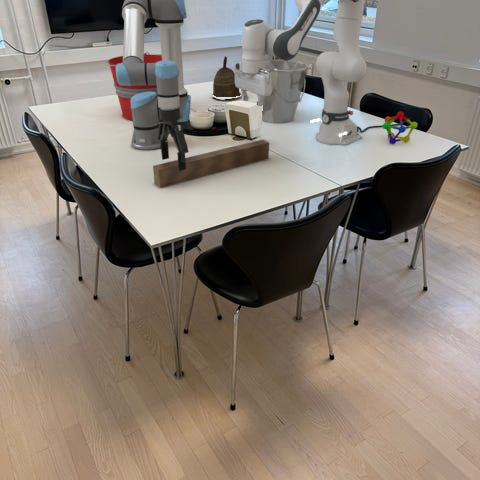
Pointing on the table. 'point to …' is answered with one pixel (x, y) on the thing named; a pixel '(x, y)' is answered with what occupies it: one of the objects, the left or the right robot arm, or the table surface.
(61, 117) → the table surface
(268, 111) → the bucket
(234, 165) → the beam
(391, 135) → the educational toy
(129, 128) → the table surface
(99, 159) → the table surface
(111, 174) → the table surface
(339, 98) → the right robot arm
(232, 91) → the bell
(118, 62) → the bucket
